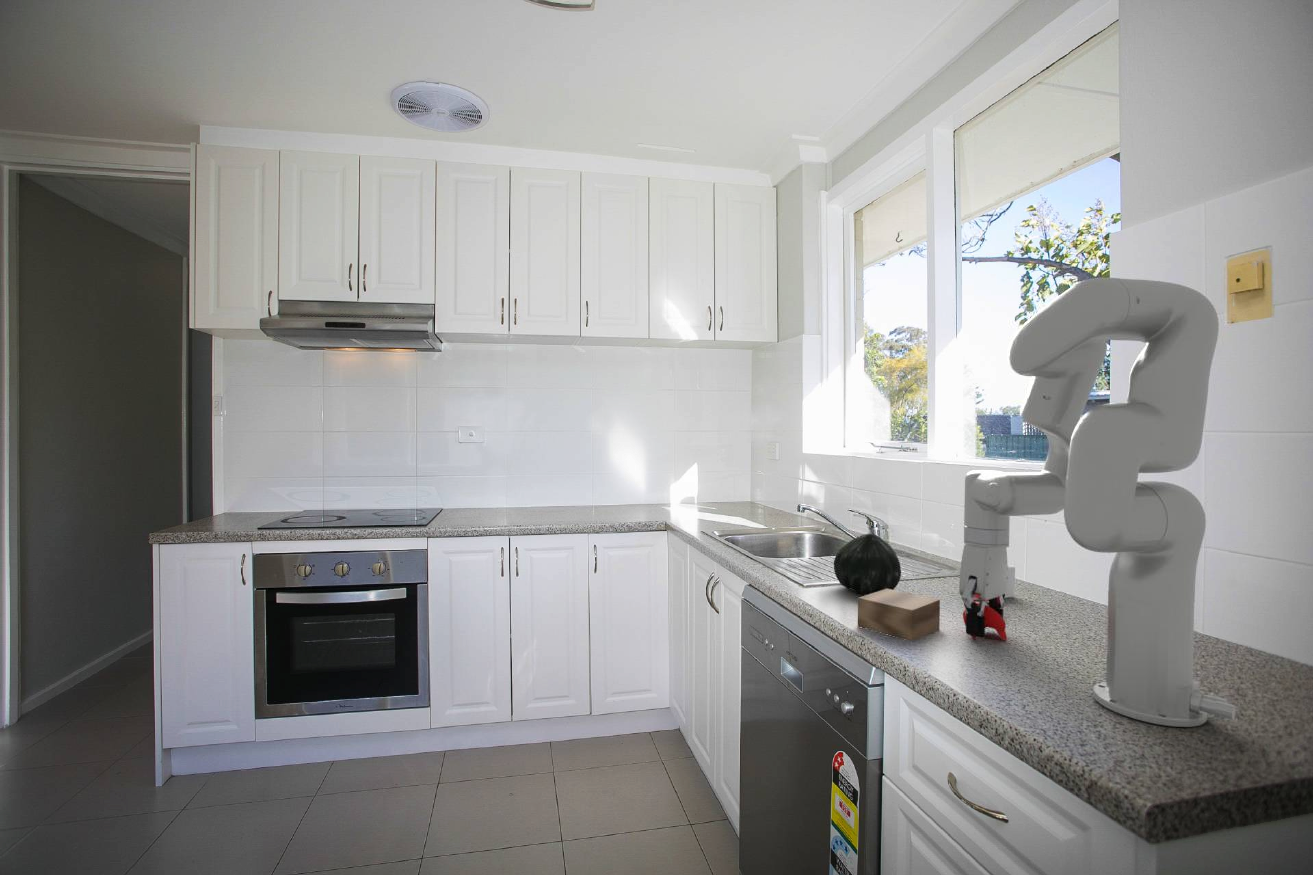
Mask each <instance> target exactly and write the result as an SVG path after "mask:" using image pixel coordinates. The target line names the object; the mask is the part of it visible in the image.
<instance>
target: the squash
mask: <svg viewBox="0 0 1313 875" xmlns="http://www.w3.org/2000/svg"><path fill="white" fill-rule="evenodd" d="M833 571H834V574H835V577H836V579H837V581H838V582H839V584H840V585H841V586H843V587H845V589H848V590H853V591H855V592H861V594H863V595H864V596H865V595H868V594H871V593H875V592H878V591H881V590H884V589H891V590H895V588H897V586H898V584H899V582H900V580H901V576H902V570H901V562H900V560H899V558H898V555H897V553H896V551H895V549H893V547H892V546H891V545H890V544H889V543H888V542H886V541H885V540H884V539H883V538H881V537H880V536H878V535H877V534H875V533H874V534H873V533H866V534H863V535H859V536H857V537H855V538H853V539H851V540H850V541H848V542H847V543H846V544H844V545H843V546H841V547H840V549H839V550H838V551H837V553H836V555H835V557H834V559H833Z"/></svg>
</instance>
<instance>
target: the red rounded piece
mask: <svg viewBox="0 0 1313 875" xmlns="http://www.w3.org/2000/svg"><path fill="white" fill-rule="evenodd" d="M976 604H977V606H978V607H979V603H976ZM983 616H985V629H986V628H989V627H991V629H994V630H995V631H996V632H997V633H996V634H998V636H999V637H1000V639H1002V640H1003V641H1007V633H1006V628H1007V626H1006V622H1005V619H1004V617H1003V618H1002V617H1001V615H1000V614H999V613H998V612H996V611H995V610H994V609H992V608H990V607H988V606H986V605H985V607H984V612H983ZM962 618H963V619H962V620H963V622H964V625H965V626H966V613H965V609H964V611H963V612H962ZM970 636H971V637H970V638H972V639H976V638H977V637H976V636H972V635H970Z"/></svg>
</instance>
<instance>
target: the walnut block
mask: <svg viewBox="0 0 1313 875" xmlns="http://www.w3.org/2000/svg"><path fill="white" fill-rule="evenodd" d="M940 605H941V599H937V598H934V597H928V596H924V595H919V594H915V593H910V592H907V591H906V592H905V591H900V590H895V589H894V590H891V589H884V590H881V591H878V592H875V593H871V594H868V595H865V594H864V595H863V596H860V597H857V627H858V626H859V627H862V628H861V629H863V628H867V629H869V630H868V631H870V630H873V631H872V632H874V631H876V632H875V633H878V632H881V633H883V634H882V635H885V634H888V635H887V636H889V635H891V636H890V637H893V636H895V637H894V638H896V637H898V638H897V639H899V640H904V639H906V640H905V641H907V640H909V641H908V642H911V641H912V642H914V641H917V640H919V639H921V638H923V637H926V636H927V634H928V635H929V634H930V635H931V634H932V633H934V632H937V631H939V630H940V628H941V627H940V626H941V625H940V624H941V623H940V621H941V620H940V618H941V617H940V614H941V613H940V612H941V611H940V610H941V606H940ZM859 627H858V628H859ZM867 629H866V630H867ZM881 633H880V634H881ZM916 639H917V640H916Z"/></svg>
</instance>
